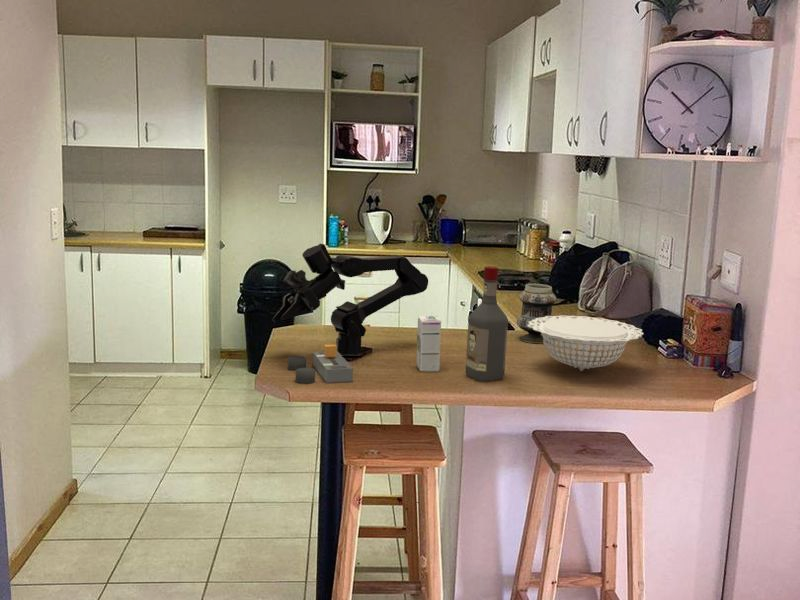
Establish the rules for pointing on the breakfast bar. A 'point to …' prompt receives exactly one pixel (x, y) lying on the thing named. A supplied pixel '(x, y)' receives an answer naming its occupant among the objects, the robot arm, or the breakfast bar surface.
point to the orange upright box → (330, 350)
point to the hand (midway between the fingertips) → (277, 319)
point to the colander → (584, 338)
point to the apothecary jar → (535, 309)
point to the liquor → (487, 334)
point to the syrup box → (428, 343)
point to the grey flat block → (333, 368)
